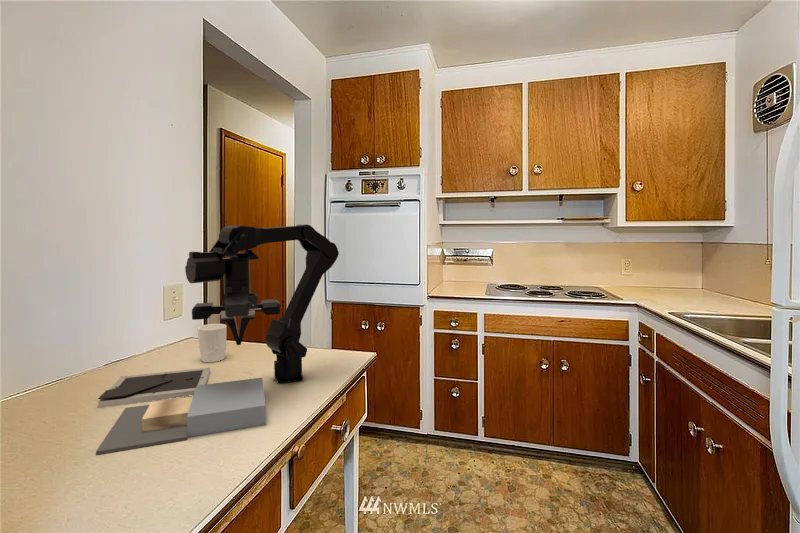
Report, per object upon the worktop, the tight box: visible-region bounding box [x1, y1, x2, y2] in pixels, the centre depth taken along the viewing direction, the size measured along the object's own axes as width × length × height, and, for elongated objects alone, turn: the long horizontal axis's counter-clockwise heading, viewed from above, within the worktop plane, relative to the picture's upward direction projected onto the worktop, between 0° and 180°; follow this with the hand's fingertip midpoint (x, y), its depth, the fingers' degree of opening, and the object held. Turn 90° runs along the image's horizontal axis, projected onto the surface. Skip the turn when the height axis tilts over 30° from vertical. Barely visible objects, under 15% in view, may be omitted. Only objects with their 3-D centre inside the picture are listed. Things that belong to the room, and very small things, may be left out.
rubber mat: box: [95, 404, 189, 456], centre depth 79 cm, size 14×18×1 cm
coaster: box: [142, 396, 193, 432], centre depth 80 cm, size 8×8×2 cm
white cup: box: [197, 323, 228, 363], centre depth 118 cm, size 8×8×10 cm
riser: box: [187, 377, 267, 438], centre depth 84 cm, size 14×16×4 cm
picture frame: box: [97, 367, 211, 408], centre depth 97 cm, size 16×3×21 cm
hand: (238, 344), depth 93 cm, fingers closed
